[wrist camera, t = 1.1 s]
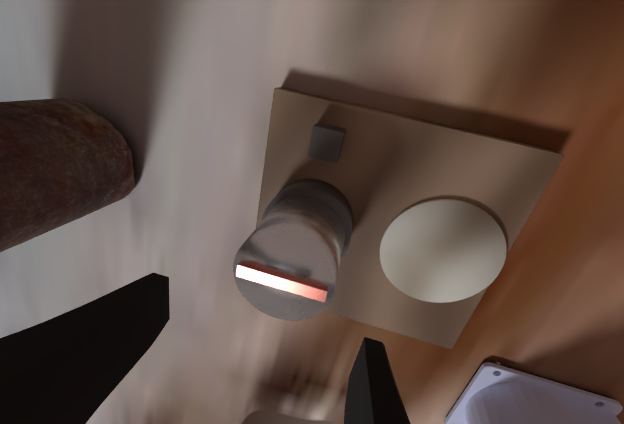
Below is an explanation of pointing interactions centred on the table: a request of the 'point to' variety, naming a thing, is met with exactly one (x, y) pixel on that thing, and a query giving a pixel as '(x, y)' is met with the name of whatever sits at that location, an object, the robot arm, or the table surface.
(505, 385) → the robot arm
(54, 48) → the table surface
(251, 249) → the knob
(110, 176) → the candle
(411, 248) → the base board
